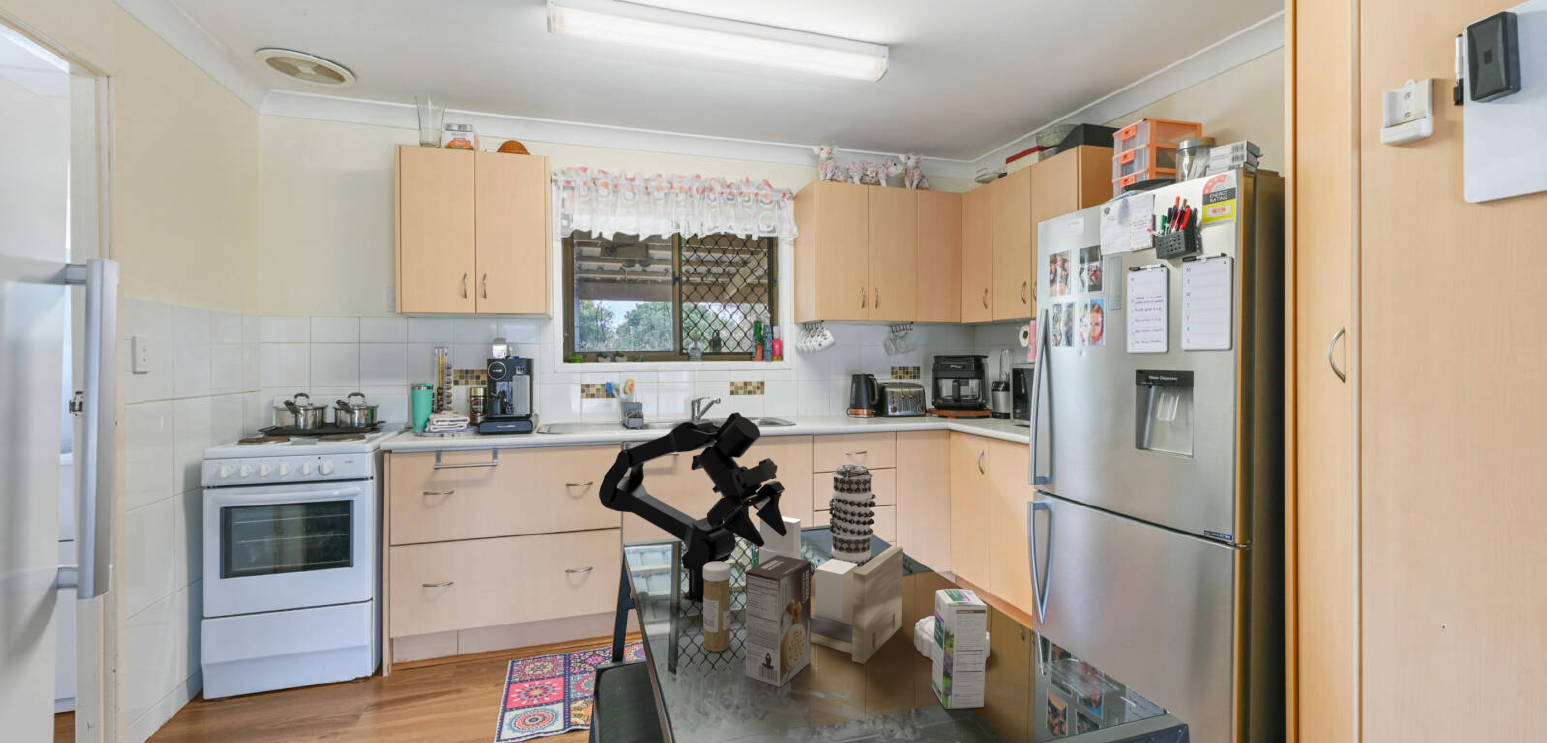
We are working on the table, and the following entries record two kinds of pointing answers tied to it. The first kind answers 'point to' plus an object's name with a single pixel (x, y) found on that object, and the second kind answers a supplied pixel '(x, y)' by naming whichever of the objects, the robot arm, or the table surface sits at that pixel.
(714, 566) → the sprinkles bottle
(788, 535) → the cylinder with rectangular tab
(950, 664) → the syrup box
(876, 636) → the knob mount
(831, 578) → the push knob
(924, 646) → the mooncake
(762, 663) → the coffee box
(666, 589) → the table surface
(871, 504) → the decorative candle
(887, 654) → the table surface
